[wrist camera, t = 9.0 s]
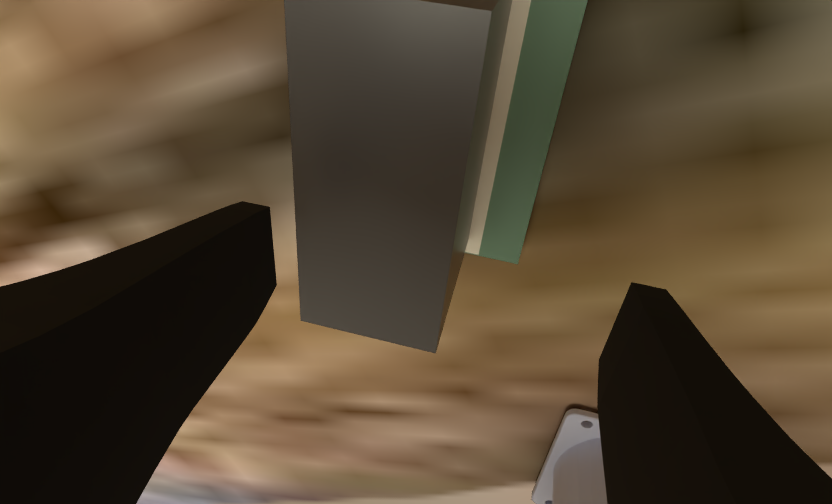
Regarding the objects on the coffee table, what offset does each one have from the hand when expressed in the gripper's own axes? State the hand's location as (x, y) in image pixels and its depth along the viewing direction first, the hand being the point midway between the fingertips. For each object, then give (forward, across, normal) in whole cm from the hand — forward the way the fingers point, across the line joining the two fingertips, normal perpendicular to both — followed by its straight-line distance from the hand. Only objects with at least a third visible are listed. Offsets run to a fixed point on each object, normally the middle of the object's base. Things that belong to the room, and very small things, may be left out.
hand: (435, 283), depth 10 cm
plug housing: (+8, +2, -2) cm, 9 cm away
